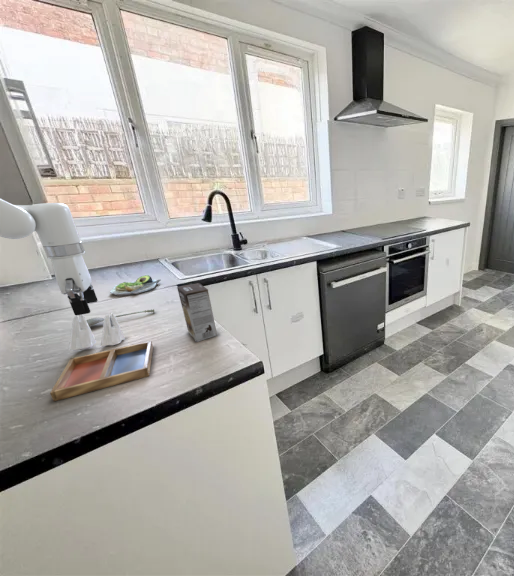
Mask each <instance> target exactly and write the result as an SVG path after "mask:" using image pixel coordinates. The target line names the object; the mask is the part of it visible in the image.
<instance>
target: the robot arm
mask: <svg viewBox="0 0 514 576" xmlns="http://www.w3.org/2000/svg"><path fill="white" fill-rule="evenodd" d="M34 232H36V234H37V235H38V239H39V241H40V243H41V246H42V248H43V251H44V253H45V256H46V259H48V260H50V261H51V267H52V270H53V274H54V277H55V281H56V283H57V286H58V289H59V291H60V293H61V294H62V295H67V299H68V302H69V304H70V307H71V309H72V312H73V314H74V316H77V317H78V316H79V315H87V314H90V313H91V309H90V305H89V304H93V303H98V301H99V300H98V297H97V294H96V293H95V289H94V287H93V285H92V277H91V274H90V271H89V268H88V266H87V264H86V261H85V258H84V256H83V255H85V254H86V251H85V247H84V245H83V241H82V239H81V237H80V234H79V231H78V228H77V225H76V223H75V219H74V216H73V214H72V211H71V209H70V207H69V206H68V205H67V204H66V203H62V202H44V203H43V202H42V203H34V204H12V203H10V202H8V201H6V200H4V199H2V198H0V237H1V238H3V239H4V238H5V239H9V240H10V239H11V240H18V239H25V238H28V237H29V236H31V235H32V234H33V233H34Z"/></svg>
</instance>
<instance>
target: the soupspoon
mask: <svg viewBox="0 0 514 576" xmlns="http://www.w3.org/2000/svg"><path fill="white" fill-rule="evenodd" d="M140 313H153V314H155V308H153V309H147V310H142V311H134V312H130V313H123V314H119V315H115V317H116V318H119V317H120V318H121V317H124V316H130V315H135V314H140ZM104 319H105V317H91V318H88V319H86V321H87V323H88V325H89V327H90V328H91V327H92V326H94V325H97V324H99V323H102V322H104Z"/></svg>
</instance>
